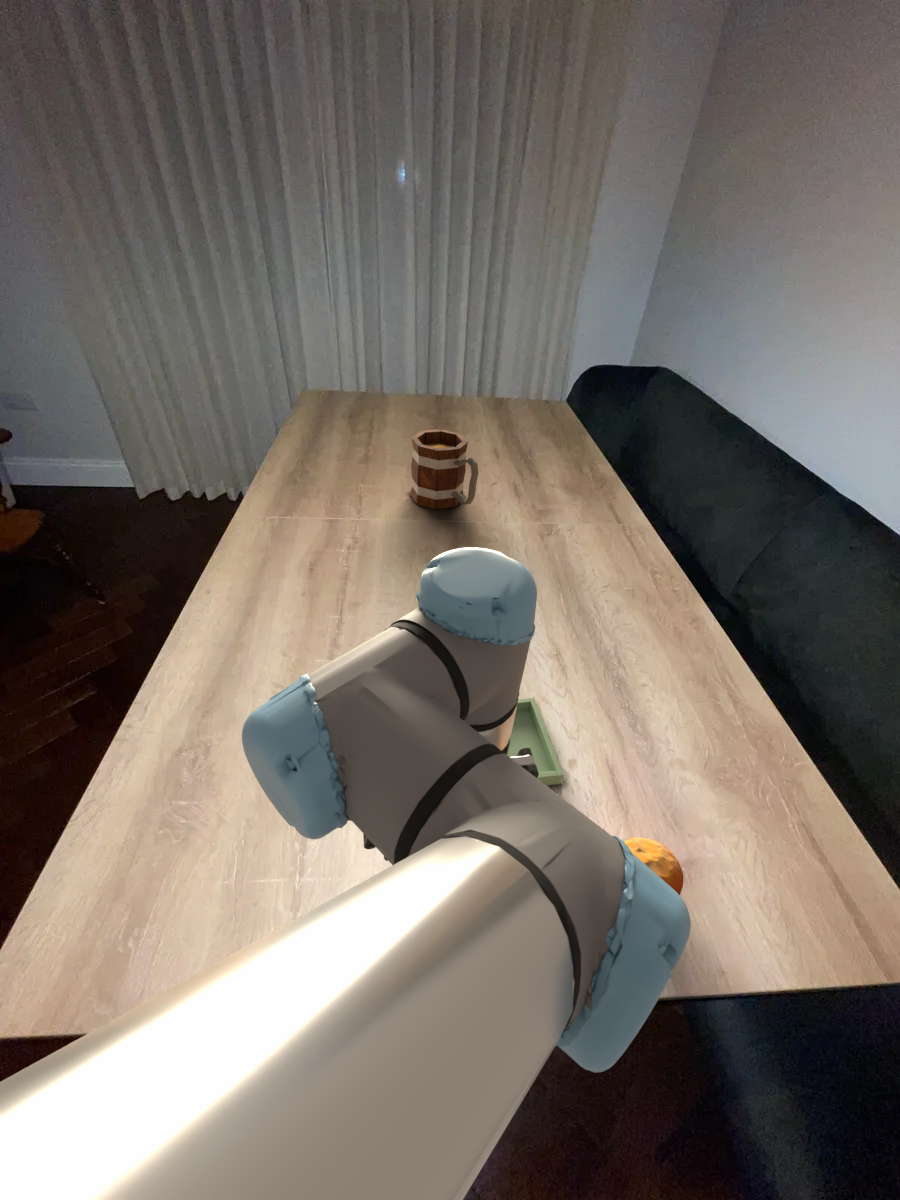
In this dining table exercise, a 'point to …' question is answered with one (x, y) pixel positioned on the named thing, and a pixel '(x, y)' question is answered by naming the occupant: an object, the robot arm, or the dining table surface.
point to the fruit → (658, 860)
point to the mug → (441, 469)
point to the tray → (534, 741)
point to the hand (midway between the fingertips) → (449, 859)
